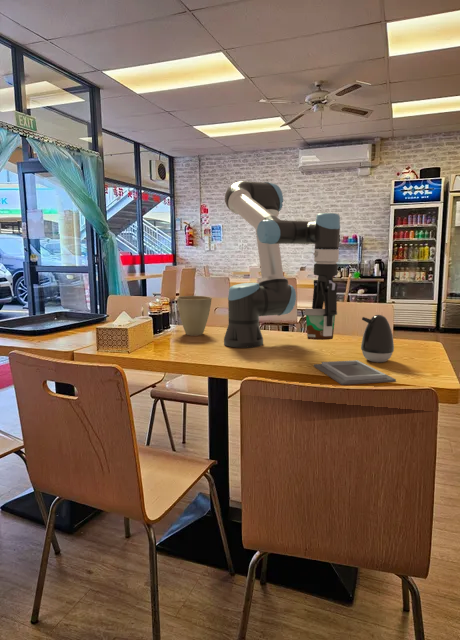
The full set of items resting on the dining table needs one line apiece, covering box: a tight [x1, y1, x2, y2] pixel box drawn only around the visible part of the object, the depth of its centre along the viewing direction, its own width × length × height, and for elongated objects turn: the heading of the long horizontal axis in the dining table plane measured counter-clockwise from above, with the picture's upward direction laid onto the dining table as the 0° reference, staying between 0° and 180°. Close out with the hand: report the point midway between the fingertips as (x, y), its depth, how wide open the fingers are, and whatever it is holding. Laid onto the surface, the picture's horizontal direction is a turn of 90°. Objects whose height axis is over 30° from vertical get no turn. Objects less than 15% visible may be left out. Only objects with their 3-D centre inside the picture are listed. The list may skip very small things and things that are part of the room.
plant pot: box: [176, 295, 212, 337], centre depth 192 cm, size 15×15×16 cm
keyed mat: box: [313, 359, 397, 386], centre depth 131 cm, size 20×16×2 cm
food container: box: [304, 308, 338, 341], centre depth 145 cm, size 12×6×10 cm, turn 123°
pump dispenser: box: [360, 314, 395, 363], centre depth 145 cm, size 10×10×15 cm
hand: (322, 333), depth 146 cm, fingers closed on food container, 7 cm apart
